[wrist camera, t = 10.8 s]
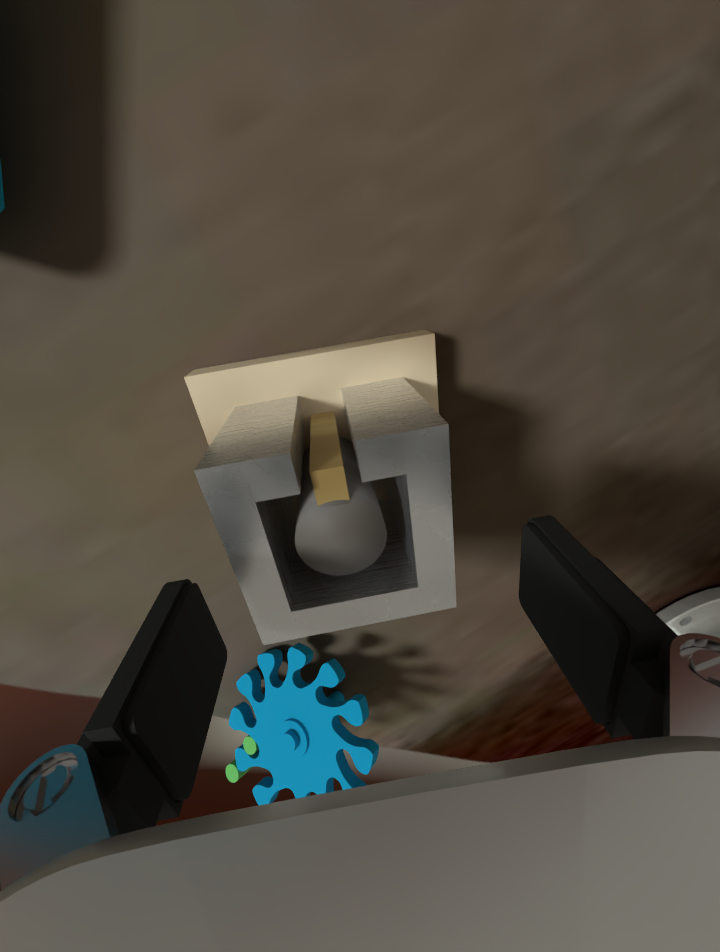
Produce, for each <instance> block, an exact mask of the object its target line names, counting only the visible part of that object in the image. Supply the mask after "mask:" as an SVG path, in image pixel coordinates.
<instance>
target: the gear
mask: <svg viewBox="0 0 720 952" xmlns="http://www.w3.org/2000/svg"><path fill="white" fill-rule="evenodd" d="M287 657H288V672H287V676H286V678H285V680H284V682H282V681H281V680H280V679H279V677H278V669H279V667H280V665H281V663H282V660H283V656H282V652H281V650H278V649H273V650H269V651H266V652H264V653H262V654H260V655H258V665H259V667H260V669H261V671H262V673H263V676H264V680H265V696H264V695H263V693H262V691H261V676H260V673H259V672H258V671H257V670H256V669H254V670H252V671H250V672H248V673H246V674H244V675H243V676H241V678H240V679H239V680H238V681H237V683H236V684H237V688H238V690H239V691H240V692H241V693H242V694H243V695H244V696H245V697H246V698H247V699H248V700H249V701H250V703H251V705H252V707H253V710H254V712H255V715H256V719H255V718H254V716H253V713H252V710H251V708H250V706H249V705H248V704H247V703H245V702H242V703H240V704H239V705H237V706H235V707H234V708H233V709H232V712H231V714H230V719H229V725H230V726H231V727H232V728H233V729H234V730H241V731H244V732H246V733H247V734H249V735H248V736H247V737H246V738H245V739H244V741H243V744H242V745H241V746H240V747H238V748H237V749H236V750H235V760H234V761H233V762H231V763H230V764H229V765H228V766H227V767H226V776H227V778H228V779H229V781H231V782H233V783H234V782H236V781H237V780H238V779H240V778H241V777H242V776H243V775H244V774H245V773H246V772H248V771H249V770H250V769H251V768H252V766H260V767H263V768H266V769H268V770H269V771H270V772H271V774H272V776H273V778H271V777H265V778H264V779H263V780H261V782H259V783H258V784H257V785H256V786H255V787H254V789H253V794H254V797H255V799H256V801H257V803H258V805H259V806H260V805H265V804H270V803H272V802H273V801H274V800H275V799H276V797H277V796H278V792H279V790H281V789H284V788H289V789H291V790H292V791H293V793H294V795H295V798H296V799H297V798H302V797H307V796H310V792H315V793H316V794H317V795H318V794H323V793H329V792H334V787H333V778H336V779H337V780H338V781H339V782H340V783H341V786H342V790H345V789H351V788H356V787H362V786H367V785H366V784H365V783H364V782H363V781H362V780H360V779H359V778H358V777H357V776H356V775H355V774H354V773H353V771H352V770H351V768H350V767H349V765H348V763H347V760H346V758H345V755H344V753H343V749H345V750H347V751H348V752H349V753H350V755H351V757H352V759H353V762H354V764H355V766H356V768H357V769H358V770H359V771H360V772H361V773H363V774H368V772H369V771H370V769H371V768H372V766H373V765H374V764H375V762H376V759H377V756H378V751H379V746H378V744H377V743H376V742H375V741H373V740H371V739H363V738H359V737H357V736H355V735H353V734H352V733H350V732H349V731H348V730H347V729H346V728H345V727H344V726H343V725H342V724H341V722H340V720H339V715H341V716H343V717H344V718H345V719H346V720H347V721H348V722H349V723H350V724H352V725H354V726H360V725H362V724H363V723H364V722H365V720H366V719H367V718H368V717H369V709H368V704H367V700H366V697H365V695H363V694H356V695H354V696H353V697H352V698H350V699H348V700H345V701H344V696H343V694H342V693H341V692H340V691H335V692H333V693H332V694H331V695H330V696H328V697H326V696H325V694H324V692H323V686H325V687H330V688H332V687H335V686H336V685H337V684H339V683H340V682H341V681H342V680H343V679H344V678H345V672H344V670H343V668H342V666H341V665H340V664H339V662H338V661H337V660H336V659H335V658H333V659H330V660H329V661H327V662H326V663H325V664H323V665H322V666H321V668H320V670H319V674H318V676H317V678H316V679H315V681H313V682H311V683H306V682H304V681H303V680H302V678H301V675H300V671H301V668H302V667H303V666H305V665H307V664H308V663H310V662H311V661H312V659H313V651H312V650H311V649H310V648H309V647H307V646H305V645H303V644H300V643H298V644H296V645H294V646H292V647H291V648H290V649H289V651H288V655H287Z"/></svg>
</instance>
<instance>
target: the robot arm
mask: <svg viewBox="0 0 720 952" xmlns="http://www.w3.org/2000/svg"><path fill="white" fill-rule="evenodd" d="M519 600H520V603H521V606H522V608H523V610H524V611H525V613H526V614H527V616H528V617H529V619H530V621H531V622H532V624H533V625H534V627H535V629H536V630H537V632H538V633H539V635H540V637H541V638H542V640H543V641H544V643H545V644H546V646H547V648H548V649H549V651H550V652H551V654H552V656H553V657H554V659H555V660H556V662H557V664H558V665H559V667H560V668H561V670H562V671H563V673H564V675H565V676H566V678H567V679H568V681H569V683H570V684H571V686H572V687H573V689H574V690H575V692H576V694H577V695H578V697H579V698H580V700H581V702H582V703H583V705H584V706H585V708H586V710H587V711H588V713H589V714H590V716H591V717H592V719H593V720H594V721H595V722H596V723H598V724H603V725H604V727H605V728H606V730H607V731H608V733H609V735H610V736H611V738H615V737H621V736H626V735H632V737H633V738H634V740H628V741H621V742H615V743H608V744H602V745H595V746H589V747H583V748H576V749H570V750H563V751H557V752H552V753H546V754H540V755H535V756H529V757H523V758H518V759H512V760H506V761H501V762H495V763H489V764H484V765H478V766H472V767H467V768H461V769H456V770H450V771H444V772H439V773H433V774H428V775H422V776H417V777H411V778H406V779H401V780H395V781H389V782H384V783H378V784H373V785H367V786H362V787H356V788H351V789H345V790H340V791H334V792H329V793H323V794H318V795H313V796H307V797H302V798H297V799H291V800H286V801H281V802H276V803H270V804H265V805H260V806H254V807H249V808H244V809H239V810H233V811H228V812H222V813H217V814H212V815H207V816H203V817H197V818H193V819H188V820H183V821H179V822H173V823H169V824H164V825H159V826H156V822H157V821H159V820H165V819H170V818H176V817H179V815H180V811H181V807H182V804H183V800H184V799H187V798H188V797H189V796H190V794H191V792H192V789H193V785H194V781H195V777H196V774H197V770H198V766H199V762H200V759H201V755H202V751H203V747H204V743H205V740H206V736H207V732H208V729H209V725H210V721H211V718H212V714H213V710H214V706H215V703H216V699H217V695H218V691H219V688H220V684H221V680H222V676H223V673H224V669H225V665H226V661H227V649H226V646H225V644H224V642H223V640H222V637H221V635H220V633H219V631H218V629H217V626H216V624H215V622H214V620H213V617H212V615H211V613H210V611H209V608H208V606H207V604H206V602H205V600H204V597H203V595H202V593H201V591H200V588H199V586H198V585H197V584H196V583H193V584H192V582H191V581H190V580H188V579H185V580H180V581H174V582H168V583H166V584H165V585H164V586H163V588H162V590H161V592H160V593H159V595H158V597H157V599H156V601H155V602H154V604H153V606H152V608H151V610H150V611H149V613H148V615H147V617H146V619H145V621H144V622H143V624H142V626H141V628H140V630H139V631H138V633H137V635H136V637H135V639H134V640H133V642H132V644H131V646H130V648H129V650H128V651H127V653H126V655H125V657H124V659H123V660H122V662H121V664H120V666H119V668H118V669H117V671H116V673H115V675H114V677H113V679H112V680H111V682H110V684H109V686H108V688H107V689H106V691H105V693H104V695H103V697H102V698H101V700H100V702H99V704H98V706H97V708H96V709H95V711H94V713H93V715H92V717H91V719H90V720H89V722H88V724H87V726H86V728H85V729H84V731H83V734H82V736H81V738H80V740H79V741H78V743H77V745H75V744H72V745H64V746H61V747H58V748H56V749H53V750H51V751H49V752H48V753H46V754H45V755H43V756H41V757H40V758H38V759H37V760H36V761H35V762H33V763H32V764H31V765H30V766H29V767H28V768H27V769H25V770H24V771H23V773H22V774H21V775H20V776H19V777H18V778H17V779H16V780H15V781H14V783H13V784H12V786H11V787H10V788H9V790H8V791H7V793H6V794H5V796H4V798H3V801H2V802H1V805H0V952H720V587H716V588H711V589H707V590H704V591H701V592H698V593H695V594H692V595H690V596H687V597H685V598H683V599H681V600H679V601H676V602H674V603H673V604H671V605H669V606H667V607H666V608H664V609H662V610H661V611H659V612H658V613H656V614H655V613H654V612H653V611H652V610H651V609H650V608H649V607H648V606H647V605H646V604H645V603H644V602H643V601H642V600H641V599H640V598H639V597H638V596H637V595H635V594H634V593H633V592H632V591H631V590H630V589H629V588H628V587H627V586H626V585H625V584H624V583H623V582H622V581H621V580H620V579H619V578H618V577H617V576H616V575H615V574H614V573H613V572H612V571H611V570H610V569H609V568H608V567H607V566H606V565H604V564H603V563H602V562H601V561H600V560H599V559H597V558H595V557H594V556H593V555H592V554H591V553H590V552H589V551H588V550H587V549H585V548H584V547H583V546H582V545H581V544H580V543H579V542H578V541H577V540H576V539H575V538H574V537H573V536H572V535H571V534H570V533H569V532H568V531H567V530H566V529H565V528H564V527H563V526H562V525H561V524H560V523H559V522H558V521H557V520H556V519H555V518H554V517H552V516H543V517H537V518H532V519H529V520H528V523H527V525H524V526H523V527H522V541H521V562H520V582H519Z"/></svg>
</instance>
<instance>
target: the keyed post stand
mask: <svg viewBox="0 0 720 952" xmlns="http://www.w3.org/2000/svg"><path fill="white" fill-rule="evenodd" d="M400 377H403V378H404V379H405V380H406V381H407V382H408V383H409V384H410V385H411V386H412V387H413V388H414V389H415V390H416V391H417V392H418V393H419V394H420V395H421V396H422V397H423V398H424V399H425V400H426V401H427V403H428V404H429V405H430V406H431V407H432V408H433V409H434V410H435V411H436V412H437V413H438V414H439V406H438V387H437V369H436V351H435V333H432V332H430V331H427V330H419V331H413V332H407V333H402V334H396V335H390V336H384V337H379V338H373V339H367V340H362V341H356V342H350V343H344V344H339V345H333V346H327V347H321V348H316V349H310V350H304V351H298V352H293V353H287V354H281V355H275V356H270V357H264V358H258V359H252V360H247V361H241V362H235V363H229V364H224V365H218V366H212V367H207V368H201V369H195V370H193V371H192V372H191V373H189V374H188V375H186V376H185V377H184V378H185V381H186V384H187V386H188V389H189V392H190V395H191V397H192V400H193V403H194V406H195V408H196V411H197V414H198V417H199V419H200V422H201V425H202V428H203V430H204V433H205V436H206V439H207V441H208V444H209V446H210V445H211V443H212V442H213V440H214V439H215V437H216V436H217V434H218V432H219V431H220V429H221V428H222V426H223V425H224V423H225V422H226V420H227V419H228V417H229V415H230V414H231V412H232V411H233V409H234V408H235V407H237V406H243V405H248V404H254V403H259V402H265V401H271V400H276V399H282V398H288V397H293V396H298V399H299V403H300V407H301V412H302V416H303V420H304V425H305V427H304V443H303V459H302V475H301V491H300V494H298V495H292V497H293V501H294V504H295V508H296V512H297V516H296V529H295V546H296V550H297V552H298V554H299V556H300V558H301V559H302V560H303V561H304V562H305V563H306V564H307V565H308V566H309V567H311V568H312V569H314V570H316V571H318V572H321V573H324V574H328V575H349V574H353V573H356V572H359V571H361V570H363V569H365V568H367V567H369V566H370V565H371V564H373V563H374V562H375V561H376V560H377V559H378V558H379V556H380V555H381V553H382V552H383V550H384V548H385V545H386V541H387V530H386V526H385V522H384V519H383V516H382V513H381V509H380V506H379V503H378V501H380V500H386V499H387V491H386V484H385V478H384V479H379V480H373V481H368V482H362V480H361V476H360V472H359V468H358V464H357V460H356V456H355V452H354V448H353V444H352V440H351V436H350V432H349V428H348V424H347V420H346V415H345V409H344V403H343V397H342V392H341V388H344V387H349V386H355V385H361V384H366V383H372V382H377V381H383V380H389V379H394V378H400Z"/></svg>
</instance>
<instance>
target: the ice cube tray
mask: <svg viewBox="0 0 720 952" xmlns="http://www.w3.org/2000/svg"><path fill="white" fill-rule="evenodd" d="M4 209H5V203H4V192H3V182H2V171H1V160H0V213H1V212H2V211H3V210H4Z"/></svg>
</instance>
